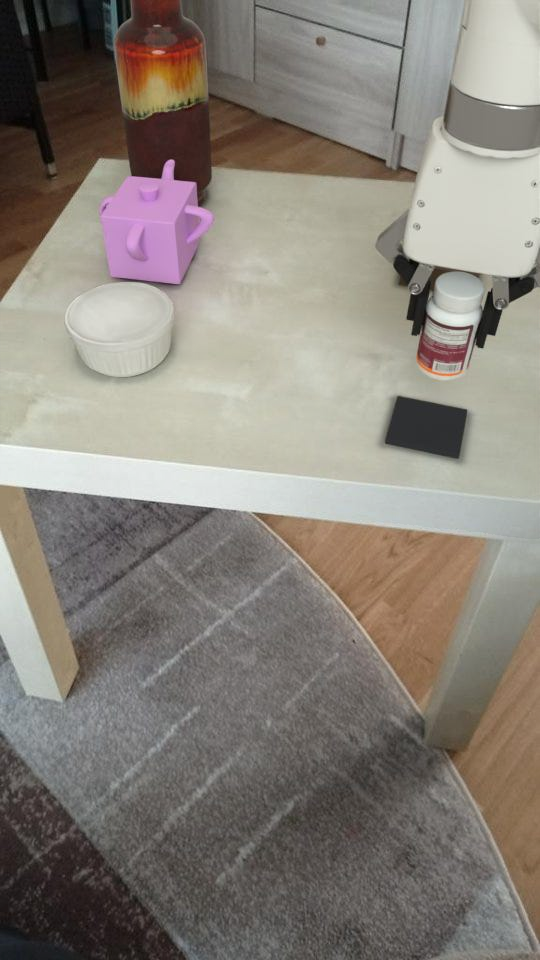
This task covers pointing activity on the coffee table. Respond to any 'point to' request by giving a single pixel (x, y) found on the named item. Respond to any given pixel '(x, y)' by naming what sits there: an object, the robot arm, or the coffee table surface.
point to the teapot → (153, 227)
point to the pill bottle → (450, 326)
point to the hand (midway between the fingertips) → (449, 330)
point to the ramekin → (121, 327)
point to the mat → (427, 427)
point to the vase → (164, 93)
